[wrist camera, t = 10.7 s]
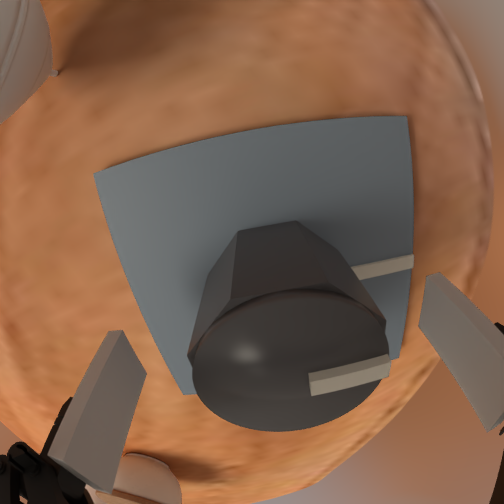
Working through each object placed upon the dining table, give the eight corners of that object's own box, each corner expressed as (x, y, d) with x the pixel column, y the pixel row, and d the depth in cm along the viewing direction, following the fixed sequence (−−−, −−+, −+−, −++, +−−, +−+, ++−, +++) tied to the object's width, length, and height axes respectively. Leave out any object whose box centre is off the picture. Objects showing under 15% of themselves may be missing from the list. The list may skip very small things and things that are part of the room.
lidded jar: (100, 435, 24) (80, 496, 15) (186, 457, 25) (177, 525, 16) (117, 465, 28) (104, 514, 20) (187, 482, 29) (181, 533, 20)
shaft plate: (102, 170, 13) (30, 196, 8) (397, 116, 12) (472, 115, 7) (185, 384, 19) (172, 450, 14) (393, 349, 18) (425, 407, 13)
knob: (229, 343, 16) (221, 445, 10) (197, 238, 14) (157, 328, 7) (341, 323, 16) (380, 418, 9) (335, 213, 13) (405, 284, 7)
